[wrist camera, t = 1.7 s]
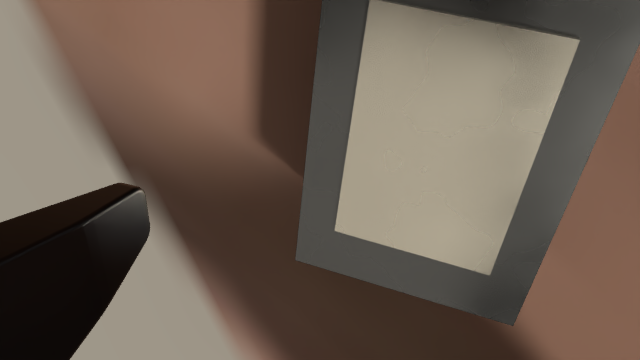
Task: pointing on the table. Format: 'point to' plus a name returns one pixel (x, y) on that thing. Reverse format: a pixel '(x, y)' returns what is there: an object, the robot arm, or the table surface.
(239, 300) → the table surface
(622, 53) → the drive
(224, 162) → the table surface
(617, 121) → the table surface
